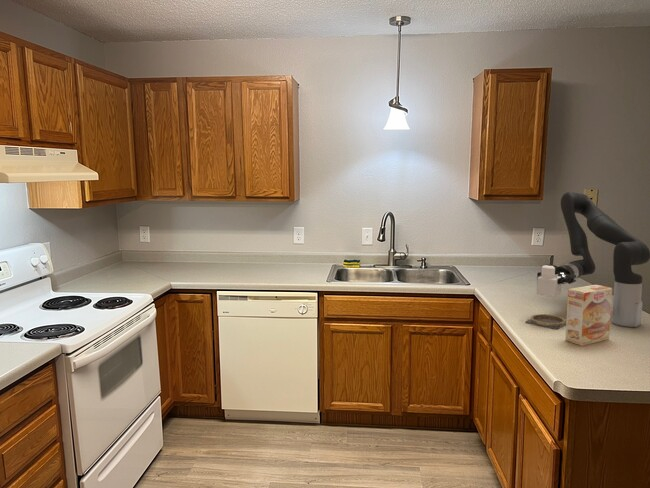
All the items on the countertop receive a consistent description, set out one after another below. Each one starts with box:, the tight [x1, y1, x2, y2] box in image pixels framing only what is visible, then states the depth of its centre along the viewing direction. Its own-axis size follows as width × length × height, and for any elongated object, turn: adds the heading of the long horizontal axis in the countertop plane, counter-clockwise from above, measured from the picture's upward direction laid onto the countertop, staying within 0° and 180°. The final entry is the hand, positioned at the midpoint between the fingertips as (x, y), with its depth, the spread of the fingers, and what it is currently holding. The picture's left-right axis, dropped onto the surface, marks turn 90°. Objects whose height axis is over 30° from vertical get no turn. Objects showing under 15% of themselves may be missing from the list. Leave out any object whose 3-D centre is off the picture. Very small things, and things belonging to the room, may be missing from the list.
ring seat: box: [525, 313, 567, 330], centre depth 193 cm, size 13×13×2 cm
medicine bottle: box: [536, 264, 562, 298], centre depth 190 cm, size 7×7×12 cm
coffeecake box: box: [565, 284, 614, 347], centre depth 171 cm, size 15×7×20 cm, turn 114°
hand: (548, 280), depth 190 cm, fingers closed on medicine bottle, 7 cm apart
